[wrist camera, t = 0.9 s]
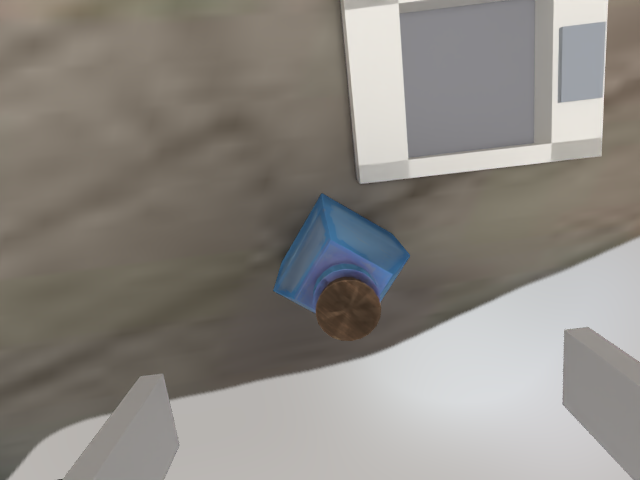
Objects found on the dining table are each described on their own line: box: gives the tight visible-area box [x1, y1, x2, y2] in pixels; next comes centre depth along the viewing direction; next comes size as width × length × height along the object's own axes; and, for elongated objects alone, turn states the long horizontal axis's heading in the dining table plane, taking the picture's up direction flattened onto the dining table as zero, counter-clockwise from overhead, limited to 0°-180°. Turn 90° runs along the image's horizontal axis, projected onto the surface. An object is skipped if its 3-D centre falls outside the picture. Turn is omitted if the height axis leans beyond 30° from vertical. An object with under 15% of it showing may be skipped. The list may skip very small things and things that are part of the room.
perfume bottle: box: [273, 194, 410, 341], centre depth 26 cm, size 6×6×12 cm
